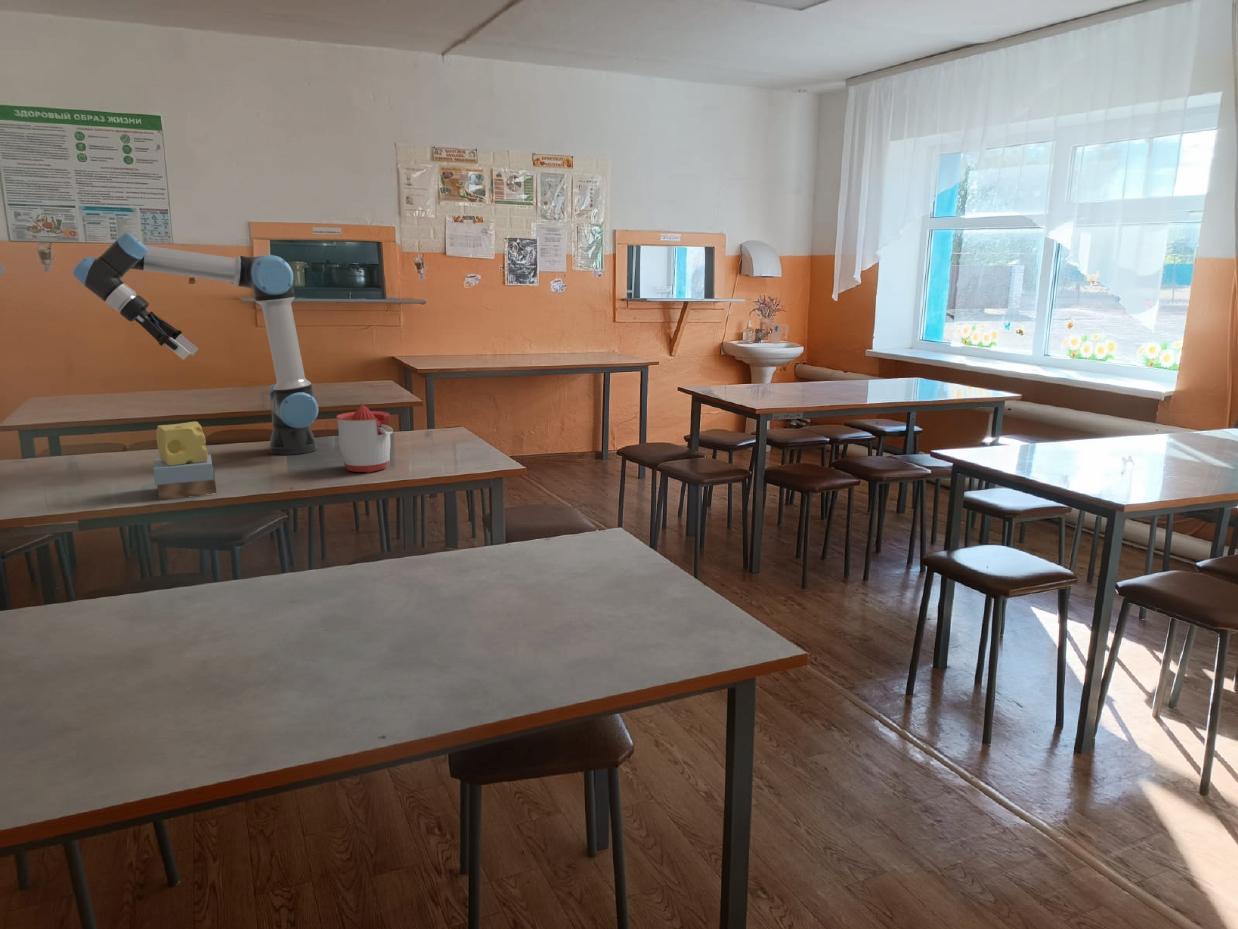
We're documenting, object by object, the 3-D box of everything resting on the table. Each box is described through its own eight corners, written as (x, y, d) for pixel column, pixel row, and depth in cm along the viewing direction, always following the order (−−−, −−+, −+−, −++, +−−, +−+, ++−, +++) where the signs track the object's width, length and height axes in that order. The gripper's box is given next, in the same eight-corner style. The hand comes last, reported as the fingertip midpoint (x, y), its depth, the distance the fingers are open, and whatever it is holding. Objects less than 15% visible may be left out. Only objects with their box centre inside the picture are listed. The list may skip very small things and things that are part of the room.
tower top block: (212, 469, 244) (210, 454, 243) (213, 479, 232) (211, 463, 231) (157, 474, 238) (155, 458, 237) (155, 485, 226) (153, 468, 225)
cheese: (208, 462, 233) (205, 426, 231) (165, 467, 227) (161, 430, 224) (200, 455, 241) (197, 420, 239) (158, 460, 235) (154, 424, 233)
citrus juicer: (377, 477, 252) (373, 410, 248) (329, 472, 258) (324, 407, 253) (407, 466, 266) (404, 403, 262) (361, 461, 272) (357, 400, 268)
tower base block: (216, 484, 245) (214, 469, 244) (216, 495, 233) (215, 480, 232) (161, 490, 239) (159, 474, 238) (159, 501, 227) (157, 485, 226)
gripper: (130, 310, 255) (190, 359, 263) (106, 314, 232) (173, 367, 240) (147, 292, 256) (207, 341, 263) (126, 295, 232) (192, 348, 240)
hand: (191, 354), depth 251 cm, fingers open, 13 cm apart
